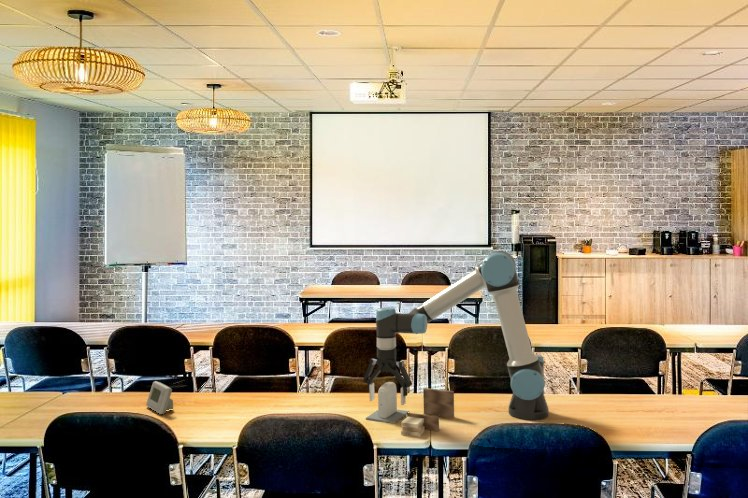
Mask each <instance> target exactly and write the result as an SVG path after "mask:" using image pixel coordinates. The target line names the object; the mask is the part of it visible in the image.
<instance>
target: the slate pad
mask: <svg viewBox="0 0 748 498" xmlns="http://www.w3.org/2000/svg"><path fill="white" fill-rule="evenodd" d="M408 412H409V413H410V411H409V410H403V409H397V411H396V412H395V413H393V414H392V415H391V416H389V417H387V418H380V417H379V415H378V409H377V410H376V411H374V412H372V413H371V414H369V415H367V416H366V417H365V420H367V421H374V422H381V423H388V424H389V423H390V424H396V423H397V422H398V421H400V420H401V419H403V418H404V417H405V416H407V415H406V414H407V413H408ZM403 416H404V417H403ZM402 417H403V418H402Z"/></svg>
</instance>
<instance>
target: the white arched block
mask: <svg viewBox="0 0 748 498" xmlns="http://www.w3.org/2000/svg"><path fill="white" fill-rule="evenodd" d="M397 393H398V392H397V384H396V383H395V382H392V381H388V382H385V383H383V384H382V385H380V387H379V388H378V392H377V400H378V401H377V403H378V404H377V406H378V408H377V410H378V415H379V417H380V418H387V417H389V416H391V415H392V414H393V413H395V412H396V411H397V410H398V402H397V401H398V396H397V395H398V394H397Z"/></svg>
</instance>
